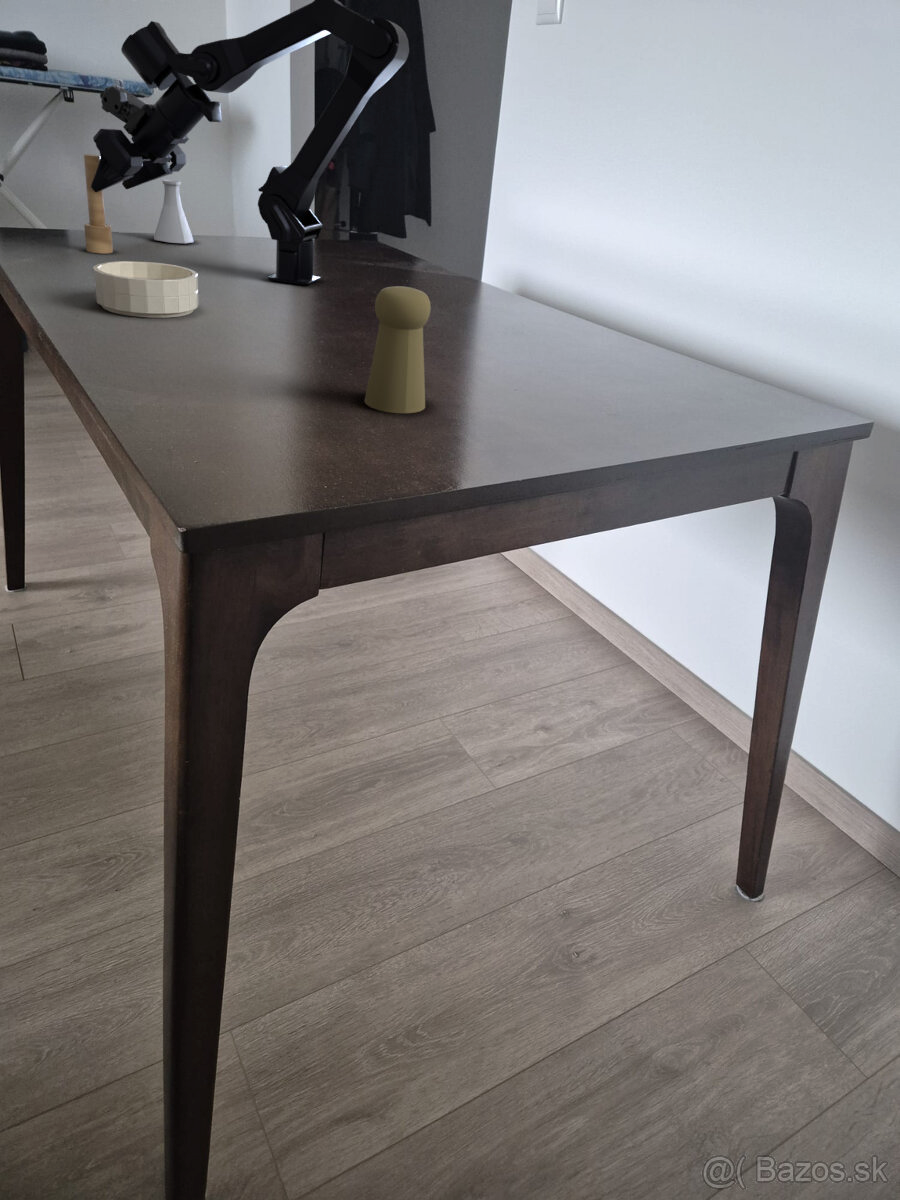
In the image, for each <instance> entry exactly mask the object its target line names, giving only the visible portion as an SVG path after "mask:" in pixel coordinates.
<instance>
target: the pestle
mask: <svg viewBox="0 0 900 1200" xmlns="http://www.w3.org/2000/svg"><path fill="white" fill-rule="evenodd" d="M99 161H100V154H92V153H91V154H89V153H84V154H83V163H84V176H85V187H86V188H85V189H86V199H87V211H88V222H86V223H83V226H84V227H83V228H84V238H85V239H84V240H85V250H86V252H88V253H93V254H102V255H104V254H112V253H114V245H113V236H112V235H113V233H112V225H110V224H106V212H105V199H104V198H105V197H104V190H102V191H99V192H94V190H93V189H92V188H91V184H92V181H93V179H94V176H95V173H96V171H97V168H98V165H99Z"/></svg>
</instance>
